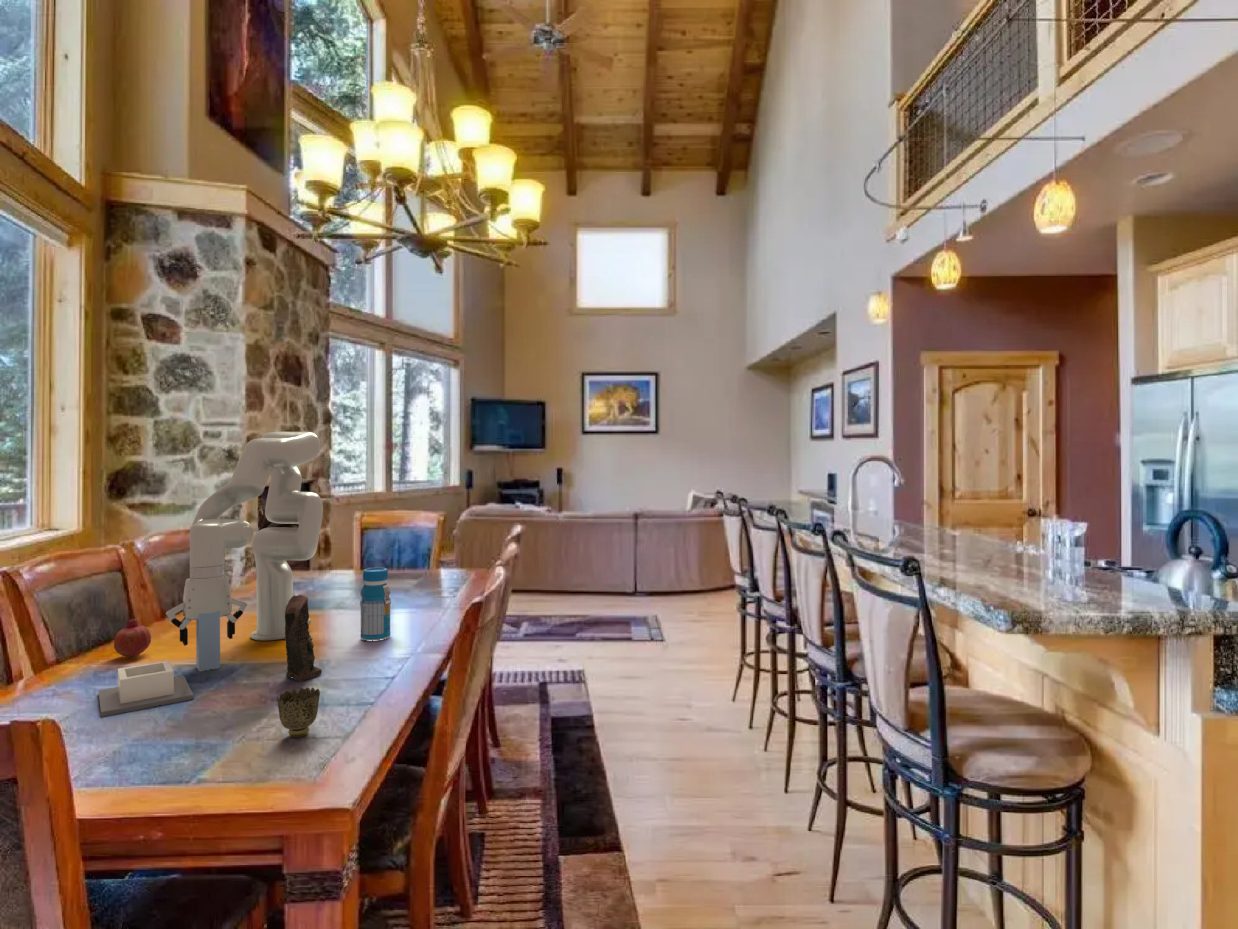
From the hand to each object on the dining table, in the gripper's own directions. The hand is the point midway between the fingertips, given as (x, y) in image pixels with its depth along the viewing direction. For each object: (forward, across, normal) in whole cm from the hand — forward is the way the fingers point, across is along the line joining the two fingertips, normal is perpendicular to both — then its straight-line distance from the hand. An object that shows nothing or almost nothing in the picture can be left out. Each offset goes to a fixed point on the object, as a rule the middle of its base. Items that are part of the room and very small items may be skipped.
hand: (207, 641), depth 170 cm
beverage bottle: (+7, -42, -1) cm, 43 cm away
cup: (+7, -7, +57) cm, 58 cm away
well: (+7, +14, +15) cm, 21 cm away
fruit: (+7, +14, -22) cm, 27 cm away
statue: (+7, -16, +22) cm, 28 cm away
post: (+7, 0, 0) cm, 7 cm away
